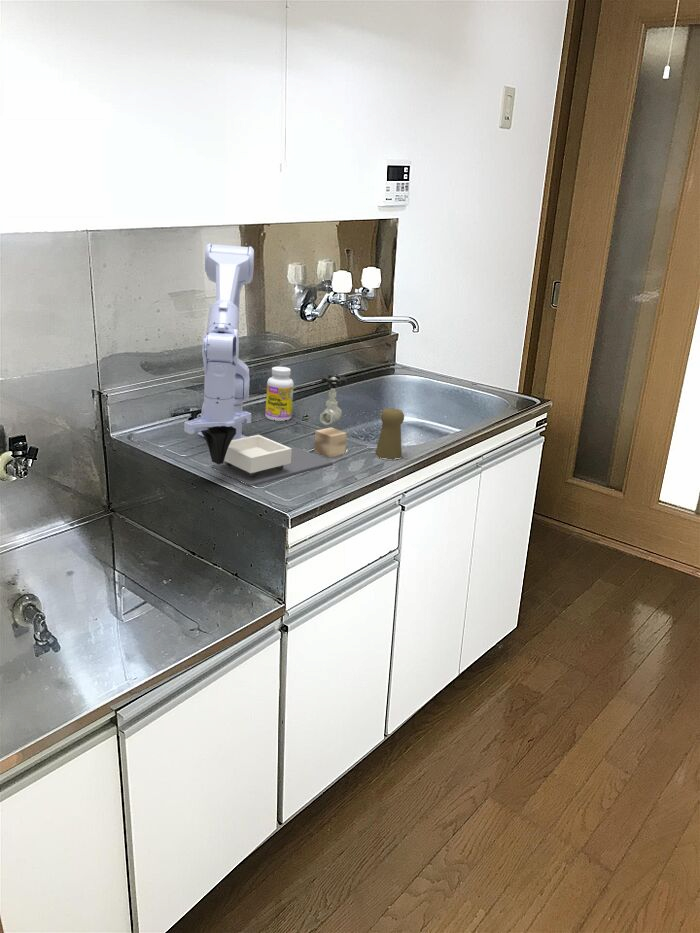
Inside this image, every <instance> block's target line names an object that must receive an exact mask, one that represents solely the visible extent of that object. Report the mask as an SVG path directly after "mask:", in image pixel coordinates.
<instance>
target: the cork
mask: <svg viewBox="0 0 700 933" xmlns="http://www.w3.org/2000/svg"><path fill="white" fill-rule="evenodd" d="M380 420H381V421H380V422H382V424H381V429H380V433H379V437H378V441H377V446H376V449H375V453H376V455H377V456H378V457H381V458H387V459H395V458H400V457H401V458H402V430H401V429H402V426H401V425H402V424H403V423H404V420H405V414H404V412H403V411H402V410H401V409H398V408H391V407H388V408H385V409H383V410H382V412H381V414H380ZM378 457H377V458H378Z"/></svg>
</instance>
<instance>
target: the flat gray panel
mask: <svg viewBox="0 0 700 933" xmlns="http://www.w3.org/2000/svg"><path fill="white" fill-rule="evenodd" d="M291 448H292V453H291V463H290V464H286V465H283V469H282V470H281V471H279V470H277V469H276V468H275V467H274V468H270V469H266V470H262V471H258V472H257V475H256V476H255V477H251V476H249V474H248V473H249V472H247V471H245V470H243V469H241V468H238V467H236V466H234V465H232V466H228V465H226V464H225V462H223V463H222V464H216V465H213V466H212V469H213V468H214V469H213V470H215V469H216V470H215V471H217V470H218V471H217V472H219V471H220V473H221V472H222V473H221V474H223V473H224V475H225V474H226V475H225V476H227V475H229V476H231V477H233V478H235V479H237V480H239V481H238V482H240V481H242V482H244V483H246V484H247V485H246V484H245V485H246V486H248V485H249V486H248V487H252V486H251V485H253V486H256V485H257V486H258V485H261V484H264V483H268V482H271V481H276V480H280V479H282V478H286V477H290V476H294V475H297V474H301V473H306V472H309V471H312V470H316V469H320V468H324V467H328V466H331V465H333V461H331V460H328V459H326V458H324V457H322V456H319V455H317V454H314V453H311V452H310V451H307V450H304V449H302V448H300V447H297V446H293V447H292V446H291ZM229 476H228V477H229ZM231 477H230V478H231ZM233 478H232V479H233ZM235 479H234V480H235ZM237 480H236V481H237ZM242 482H241V483H242ZM244 483H243V484H244Z"/></svg>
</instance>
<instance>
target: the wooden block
mask: <svg viewBox="0 0 700 933" xmlns="http://www.w3.org/2000/svg"><path fill="white" fill-rule="evenodd" d="M314 434H315V436H314V445H313V452H314V453H317V454H319V455H321V456H324V457H327V458H329V459H331V458H334V457H338V456H342V455H345V454H346V446H347V436H348V435H347V434H348V433H347V432H344V431H342V430H339V429H337V428H334V427H332V426H331V427H326V428H321V429H317V430H315V432H314ZM344 453H345V454H344ZM341 454H342V455H341Z"/></svg>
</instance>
